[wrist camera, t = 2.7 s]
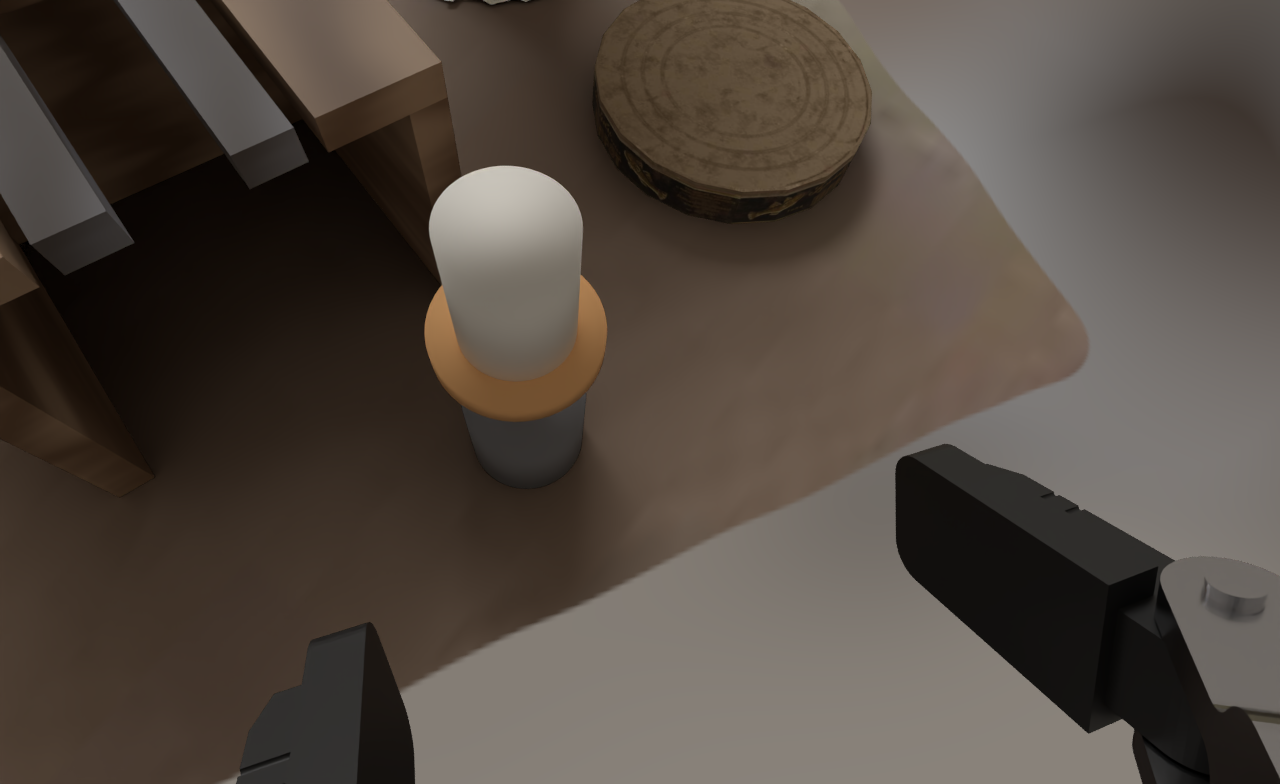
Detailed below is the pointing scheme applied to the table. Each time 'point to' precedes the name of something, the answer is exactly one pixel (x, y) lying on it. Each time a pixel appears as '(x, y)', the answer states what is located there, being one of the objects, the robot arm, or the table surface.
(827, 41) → the wood slice
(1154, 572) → the robot arm
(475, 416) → the cylinder with orange collar
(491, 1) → the decorative vase
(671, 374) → the table surface
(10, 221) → the wooden slotted block
